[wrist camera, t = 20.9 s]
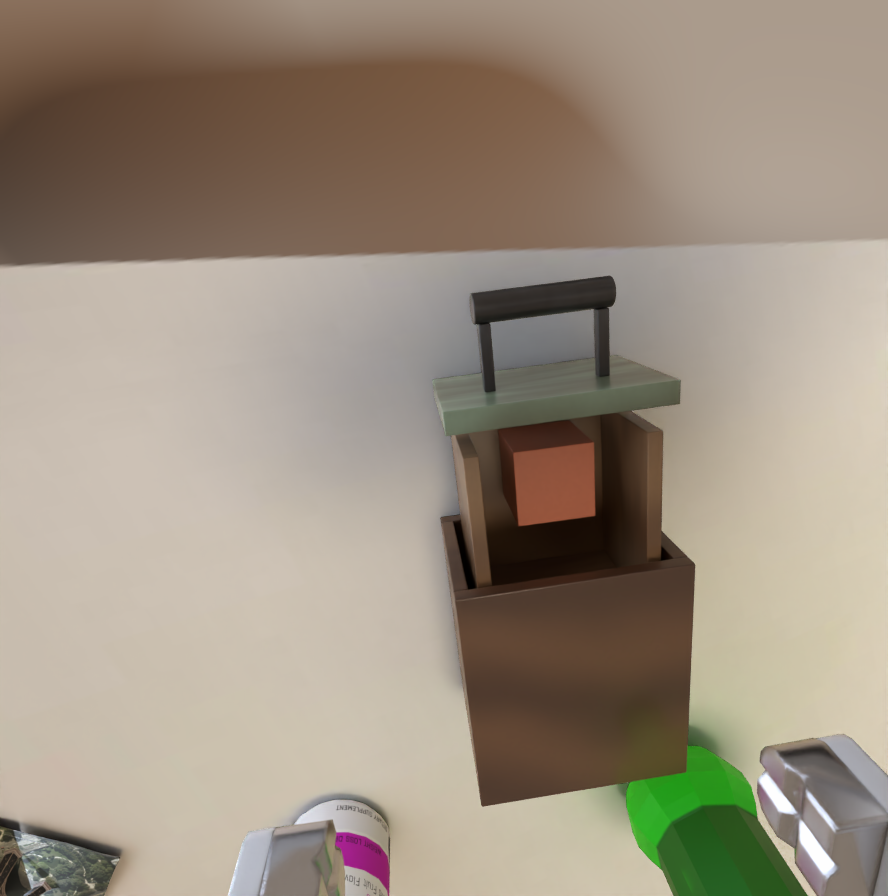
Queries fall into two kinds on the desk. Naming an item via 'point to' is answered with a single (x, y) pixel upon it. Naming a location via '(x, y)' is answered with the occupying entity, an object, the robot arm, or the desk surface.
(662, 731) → the cabinet
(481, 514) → the drawer
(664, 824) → the plastic bottle
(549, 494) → the block
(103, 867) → the eiffel tower figurine
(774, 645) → the desk surface
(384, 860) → the supplement can
